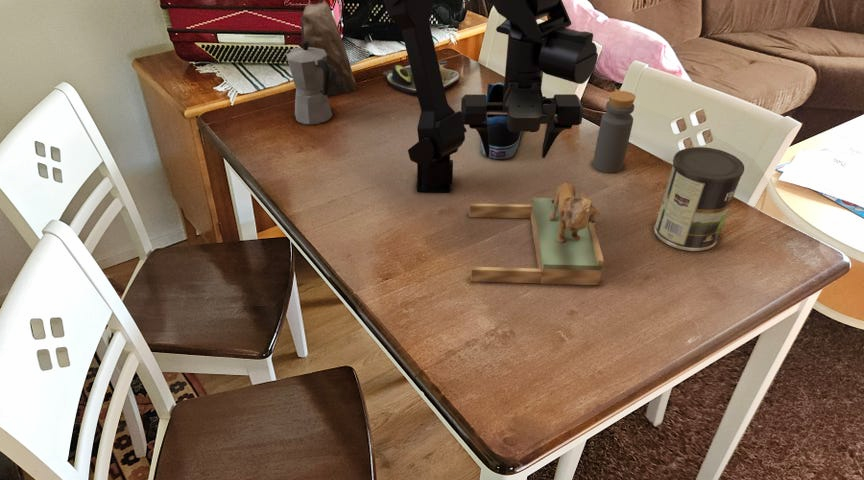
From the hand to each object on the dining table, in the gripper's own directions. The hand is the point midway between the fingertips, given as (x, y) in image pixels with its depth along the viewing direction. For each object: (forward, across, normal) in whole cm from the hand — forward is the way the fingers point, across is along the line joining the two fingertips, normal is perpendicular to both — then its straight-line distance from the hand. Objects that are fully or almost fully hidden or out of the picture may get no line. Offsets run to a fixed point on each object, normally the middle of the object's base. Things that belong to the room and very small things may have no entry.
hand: (515, 156), depth 104 cm
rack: (+13, +3, -8) cm, 16 cm away
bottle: (+13, +21, +20) cm, 32 cm away
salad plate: (+13, -19, +62) cm, 66 cm away
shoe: (+13, +1, +36) cm, 38 cm away
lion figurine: (+9, +9, -8) cm, 15 cm away
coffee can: (+13, +30, -3) cm, 33 cm away
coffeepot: (+13, -43, +41) cm, 61 cm away
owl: (+13, -42, +58) cm, 73 cm away
